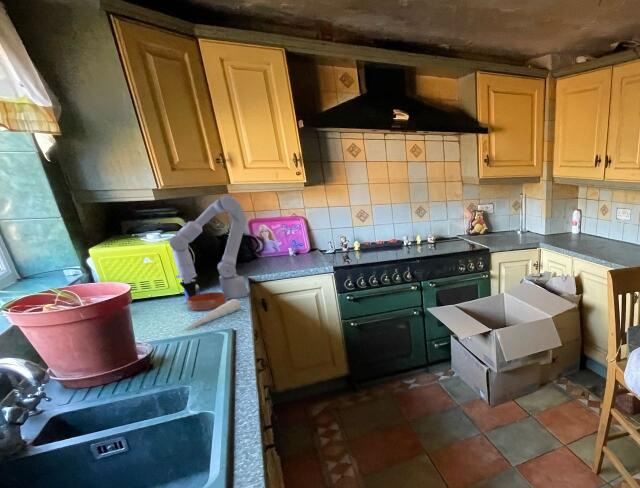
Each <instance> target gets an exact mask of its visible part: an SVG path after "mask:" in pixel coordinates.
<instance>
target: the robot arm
mask: <svg viewBox="0 0 640 488" xmlns="http://www.w3.org/2000/svg"><path fill="white" fill-rule="evenodd" d="M225 212H226V213H228V215H229V216H230V217H231V218H232V223H231V226H230V231H229V234H228V237H227V240H226V245H225V249H224V253H223V255H222V256H221V257H222V258H221V260H220V261H219V262H218V263H217V267H216V268H217V271H218V274H219V276H218V280H219V284H220V287H221V291H222V292H221V293H224V294H225V298H226V300H232V299H238V298H246V297H249V293H248V292H249V290H248V287H247V285H246V281H245V280H246V279H245V277H244V276H245V275H239V274H238V273H237V269H236V265H237V257H238V253H239V250H240V246H241V242H242V239H243V235H244V231H245V227H246V224H247V216H246V214H245V212H244V208H243V206H242V204H241V203H240V202H239V200H237V198H235V197H234V196H232V195H230V194H223V195H221V196H220V197H219V199H216V200H215V201H214V202H212V203H211V204H210V205H208V207H206V209H205V210H204V211H203V212H202V213H201V214H200V215H199V216H198V217H197V218H196V219H195V220H191V221H190V220H189V221H188V222H184V223H182V225H183V226H182V227H181V228H180V229H179V230H178V231H175V232H174V235H172V236H171V237H170V239H169V246H170V247H171V249H172V250H171V252H172V253H173V255H172V256H173V259H174V263H175V266H176V270H177V273H178V275H175V278H176V279H180V280H181V281H180V282H179V285H180V287H182V288H184V289H185V290H186V292H187V294H188V296H189V297H191V296H194V295H196V284H197V285H198V283H197V282H198V280H199V279H198V278H199V277H198V274H197V273H196V268H195V265H194V262H193V258H192V254H191V251H189V244H190V243H192V242H194V241H195V239H196V238H197V237H198V236H199V235H200V234H202V233H203V227H204V225H205V224H207V223H208V222H209V221H210V220H211V219H212V218H213V217H215V216H216V215H217V214H221V213H222V214H223V213H225ZM190 279H195V281H193V282H192V281H191V280H190ZM184 289H183V290H184Z"/></svg>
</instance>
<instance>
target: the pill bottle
mask: <svg viewBox="0 0 640 488" xmlns="http://www.w3.org/2000/svg"><path fill="white" fill-rule="evenodd" d="M190 280H191V281H192V282H193V281H195V279H190ZM182 288H183V287H182ZM200 289H201V288H200V286H199V285H198V283H197V284H196V295H198V294H202V293H201V290H200ZM183 293H184V297H185V300H186V302H187V298H189V296H188V294H187V292H186V290H185V289H184V288H183Z"/></svg>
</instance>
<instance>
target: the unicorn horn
mask: <svg viewBox="0 0 640 488" xmlns="http://www.w3.org/2000/svg"><path fill="white" fill-rule="evenodd" d="M241 309H242V303H241V301H240V300H238V298H231V299H229V300H228V301H226V303H225V304H223V305H221V306H220V307H218V308H216V309H212V310H210V312H208V313H206V314H205V315H203V316H202V317H200V318H198V319H197V320H195V321H194V322H192V323H191V324H189V325H187V327H186V328H185V330H189V329H192V328H194V327H195V328H196V327H198V326H201V325H203V324H206V323H209V322H211V321H214V320H217V319H219V318H221V317H224V316H227V315H229V314H232V313H234V312H237V311H239V310H241Z"/></svg>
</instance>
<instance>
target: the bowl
mask: <svg viewBox="0 0 640 488" xmlns="http://www.w3.org/2000/svg"><path fill="white" fill-rule="evenodd" d="M226 302H227V299H226V298H225V294H224V293H223V292H220V291H219V292H217V291H215V292H213V291H212V292H204V293H201V294H198V295H194V296H191V297H189V298H187V301H186V304H187V307H188V309H189V310H190V311H194V312H195V311H196V312H202V311H204V312H205V311H213V310H215V309H216V308H218V307H220V306H221V305H223V304H225V303H226Z"/></svg>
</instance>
